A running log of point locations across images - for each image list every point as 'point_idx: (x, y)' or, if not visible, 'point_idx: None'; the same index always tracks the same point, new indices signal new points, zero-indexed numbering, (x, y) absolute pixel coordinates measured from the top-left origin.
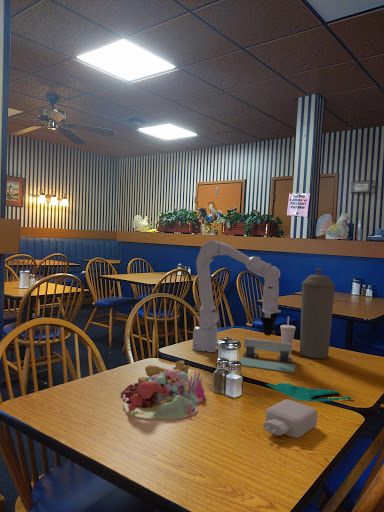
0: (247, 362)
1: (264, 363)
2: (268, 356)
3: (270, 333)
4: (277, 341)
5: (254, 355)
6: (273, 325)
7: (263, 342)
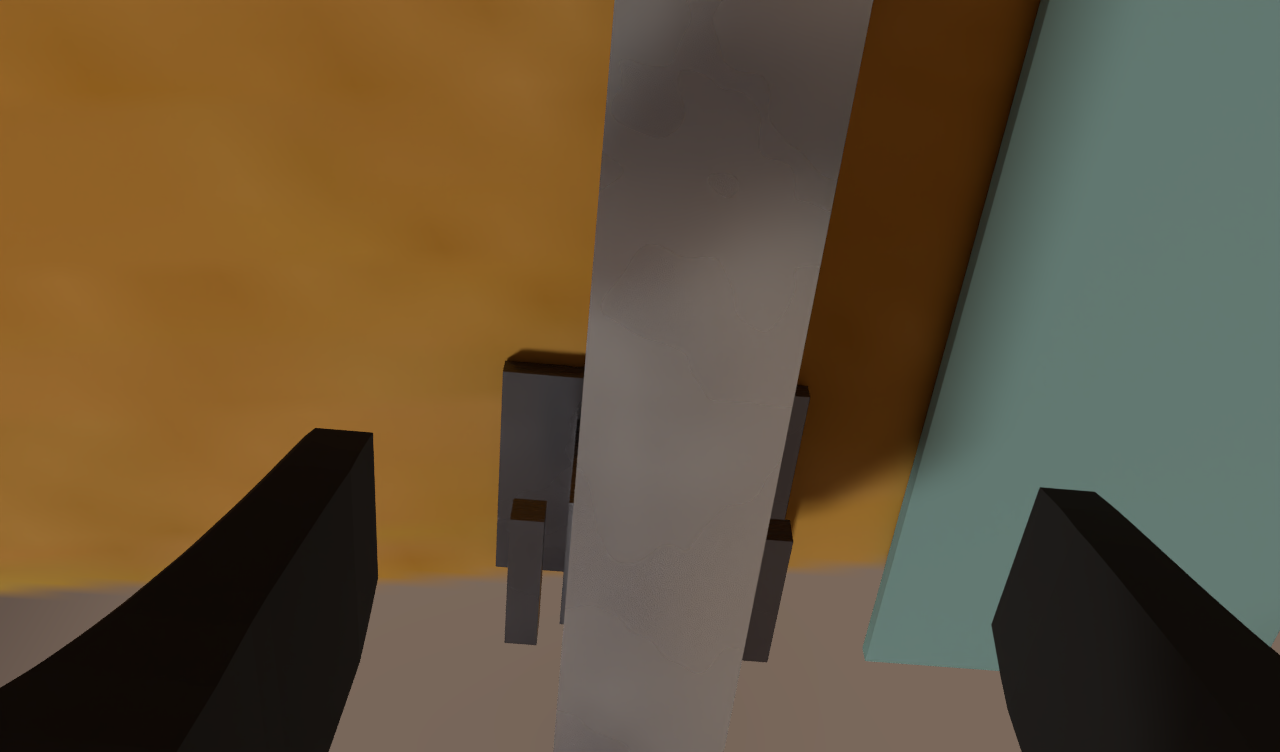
0: (1175, 499)
1: (1196, 231)
2: (571, 161)
3: (1139, 535)
4: (636, 125)
5: None
6: (305, 568)
7: (776, 466)
